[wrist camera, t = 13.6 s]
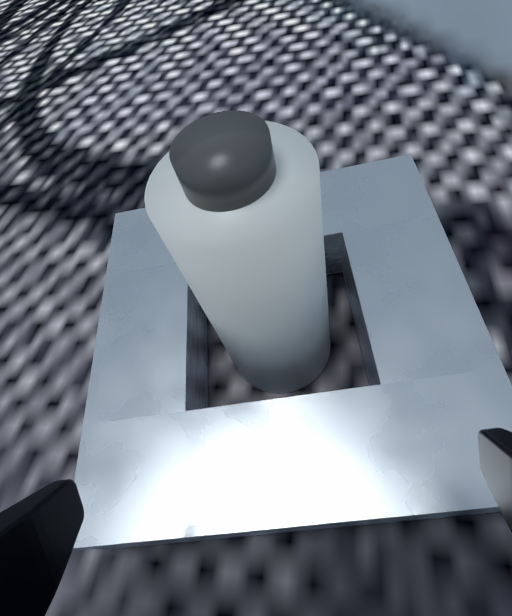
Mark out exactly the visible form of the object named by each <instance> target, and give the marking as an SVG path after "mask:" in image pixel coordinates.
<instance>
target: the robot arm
mask: <svg viewBox="0 0 512 616" xmlns="http://www.w3.org/2000/svg"><path fill="white" fill-rule="evenodd" d="M478 450H479V463H480V469H481V473H482V475H483V478H484V480H485V482H486V484H487V486H488V488H489V489H490V491H491V493H492V495H493V497H494V499H495V501H496V503H497V505H498V507H499V509H500V511H501V512H502V514H503V516H504V518H505V520H506V522H507V524H508V526H509V528H510V530H511V532H512V432H510V431H508V430H505V429H503V428H490V429H482V430H480V431H479V432H478ZM83 520H84V507H83V504H82V501H81V498H80V495H79V492H78V489H77V485H76V483H75V482H74V481H73V480H71V479H67V480H59V481H54V482H52V483H50V484H49V485H47V486H45V487H44V488H42V489H40V490H38V491H37V492H35V493H33V494H31V495H30V496H28V497H26V498H25V499H23V500H21V501H19V502H18V503H16V504H14V505H13V506H11V507H9V508H7V509H6V510H4V511H2V512H1V513H0V616H45V614H46V612H47V610H48V608H49V606H50V604H51V602H52V599H53V597H54V595H55V593H56V591H57V588H58V586H59V583H60V581H61V578H62V576H63V573H64V571H65V568H66V565H67V563H68V560H69V557H70V555H71V552H72V550H73V547H74V544H75V542H76V539H77V536H78V534H79V531H80V528H81V526H82V523H83Z"/></svg>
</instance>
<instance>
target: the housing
mask: <svg viewBox="0 0 512 616" xmlns="http://www.w3.org/2000/svg"><path fill="white" fill-rule="evenodd" d="M320 186H321V202H322V218H323V234H324V250H325V265H326V275H331V274H337V273H343V277H344V281H345V285H346V289H347V293H348V298H349V302H350V306H351V310H352V314H353V319H354V323H355V327H356V331H357V335H358V340H359V344H360V348H361V352H362V356H363V361H364V365H365V369H366V373H367V378H368V382H369V386H366V387H358V388H351V389H344V390H336V391H329V392H322V393H314V394H307V395H300V396H292V397H285V398H278V399H270V400H263V401H256V402H248V403H241V404H234V405H226V406H219V407H212V408H208V340H207V316H206V314H205V312H204V311H203V309H202V307H201V305H200V304H199V302H198V300H197V299H196V297H195V295H194V293H193V292H192V290H191V288H190V287H189V285H188V283H187V281H186V280H185V278H184V276H183V275H182V273H181V271H180V269H179V268H178V266H177V264H176V263H175V261H174V259H173V257H172V256H171V254H170V252H169V251H168V249H167V247H166V245H165V244H164V242H163V240H162V239H161V237H160V235H159V233H158V232H157V230H156V228H155V227H154V225H153V223H152V222H151V220H150V218H149V216H148V214H147V211H146V208H142V209H137V210H132V211H127V212H122V213H117V214H115V220H114V226H113V233H112V239H111V246H110V252H109V259H108V265H107V272H106V278H105V285H104V291H103V298H102V304H101V311H100V317H99V324H98V330H97V337H96V343H95V350H94V356H93V363H92V369H91V376H90V382H89V389H88V395H87V402H86V408H85V415H84V421H83V428H82V434H81V441H80V447H79V454H78V460H77V467H76V473H75V480H74V482H75V483H76V485H77V489H78V492H79V495H80V498H81V501H82V504H83V507H84V520H83V523H82V526H81V528H80V531H79V534H78V536H77V539H76V542H75V544H74V547H73V549H119V548H130V547H140V546H150V545H161V544H171V543H182V542H192V541H202V540H213V539H223V538H234V537H244V536H254V535H265V534H275V533H286V532H296V531H307V530H317V529H327V528H338V527H348V526H359V525H369V524H379V523H390V522H400V521H411V520H421V519H431V518H442V517H452V516H463V515H473V514H484V513H494V512H501V511H500V509H499V507H498V505H497V503H496V501H495V499H494V497H493V495H492V493H491V491H490V489H489V488H488V486H487V484H486V482H485V480H484V478H483V475H482V473H481V469H480V463H479V450H478V432H479V431H480V430H482V429H490V428H503V429H505V430H508V431H510V432H512V385H511V383H510V381H509V378H508V376H507V374H506V371H505V369H504V367H503V364H502V362H501V360H500V358H499V355H498V353H497V351H496V348H495V346H494V344H493V342H492V339H491V337H490V335H489V332H488V330H487V328H486V326H485V323H484V321H483V319H482V316H481V314H480V312H479V309H478V307H477V305H476V303H475V300H474V298H473V296H472V293H471V291H470V289H469V287H468V284H467V282H466V280H465V277H464V275H463V273H462V271H461V268H460V266H459V264H458V261H457V259H456V257H455V254H454V252H453V250H452V248H451V245H450V243H449V241H448V238H447V236H446V234H445V232H444V229H443V227H442V225H441V222H440V220H439V218H438V216H437V213H436V211H435V209H434V206H433V204H432V202H431V199H430V197H429V195H428V193H427V190H426V188H425V186H424V183H423V181H422V179H421V177H420V174H419V172H418V170H417V167H416V165H415V163H414V161H413V158H412V156H411V154H410V155H405V156H400V157H395V158H390V159H385V160H380V161H375V162H370V163H365V164H360V165H355V166H350V167H345V168H340V169H335V170H331V171H326V172H321V173H320Z"/></svg>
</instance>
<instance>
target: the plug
mask: <svg viewBox="0 0 512 616" xmlns="http://www.w3.org/2000/svg"><path fill="white" fill-rule="evenodd" d="M145 207H146V211H147V214H148V216H149V218H150V220H151V222H152V223H153V225H154V227H155V228H156V230H157V232H158V233H159V235H160V237H161V239H162V240H163V242H164V244H165V245H166V247H167V249H168V251H169V252H170V254H171V256H172V257H173V259H174V261H175V263H176V264H177V266H178V268H179V269H180V271H181V273H182V275H183V276H184V278H185V280H186V281H187V283H188V285H189V287H190V288H191V290H192V292H193V293H194V295H195V297H196V299H197V300H198V302H199V304H200V305H201V307H202V309H203V311H204V312H205V314H206V316H207V317H208V319H209V321H210V323H211V324H212V326H213V328H214V329H215V331H216V333H217V334H218V336H219V338H220V340H221V341H222V343H223V345H224V346H225V348H226V350H227V352H228V353H229V355H230V357H231V358H232V360H233V362H234V364H235V365H236V367H237V369H238V370H239V372H240V374H241V375H242V376H243V378H244V379H245V380H246V381H247V382H248V383H250V384H251V385H252V386H254V387H256V388H258V389H260V390H262V391H265V392H270V393H279V394H280V393H289V392H294V391H297V390H300V389H302V388H304V387H306V386H308V385H309V384H311V383H312V382H313V381H314V380H316V379H317V378H318V376H319V375H320V374H321V373H322V371H323V370H324V368H325V366H326V365H327V362H328V359H329V356H330V346H331V345H330V329H329V313H328V297H327V281H326V265H325V250H324V234H323V218H322V202H321V186H320V170H319V161H318V157H317V154H316V151H315V149H314V148H313V146H312V144H311V143H310V142H309V141H308V140H307V139H306V138H305V137H304V136H303V135H302V134H301V133H299V132H297V131H296V130H294V129H292V128H290V127H287V126H285V125H282V124H279V123H275V122H269V121H264V120H263V119H262V118H260V117H259V116H257V115H255V114H253V113H249V112H245V111H222V112H217V113H213V114H210V115H207V116H204V117H202V118H200V119H198V120H196V121H194V122H193V123H191V124H189V125H188V126H187V127H185V128H184V129H183V130H182V131H181V132H180V133H179V134H178V135H177V136H176V138H175V139H174V141H173V143H172V145H171V148H170V151H169V152H168V153H167V154H166V155H165V156H164V157H163V158H162V159H161V161H160V162H159V163H158V164H157V166H156V167H155V168H154V170H153V172H152V174H151V175H150V177H149V180H148V182H147V185H146V190H145Z"/></svg>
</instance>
